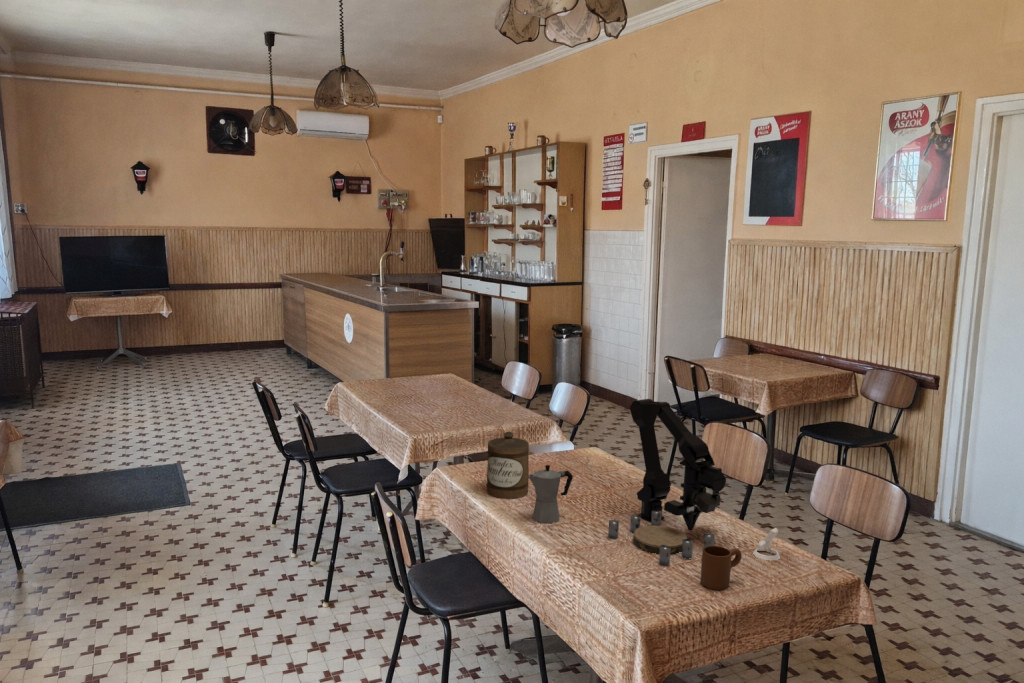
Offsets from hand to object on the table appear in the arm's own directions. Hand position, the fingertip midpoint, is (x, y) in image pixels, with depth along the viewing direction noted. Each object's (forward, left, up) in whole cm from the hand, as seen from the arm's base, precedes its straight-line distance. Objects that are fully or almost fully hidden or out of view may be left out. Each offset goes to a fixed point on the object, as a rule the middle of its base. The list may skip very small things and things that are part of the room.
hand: (690, 530), depth 236 cm
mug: (+28, -17, -2) cm, 32 cm away
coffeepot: (-33, -30, -2) cm, 45 cm away
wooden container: (-61, -28, -2) cm, 68 cm away
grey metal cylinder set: (0, -13, -2) cm, 13 cm away
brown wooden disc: (0, -13, -2) cm, 13 cm away
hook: (+23, +8, -2) cm, 24 cm away
